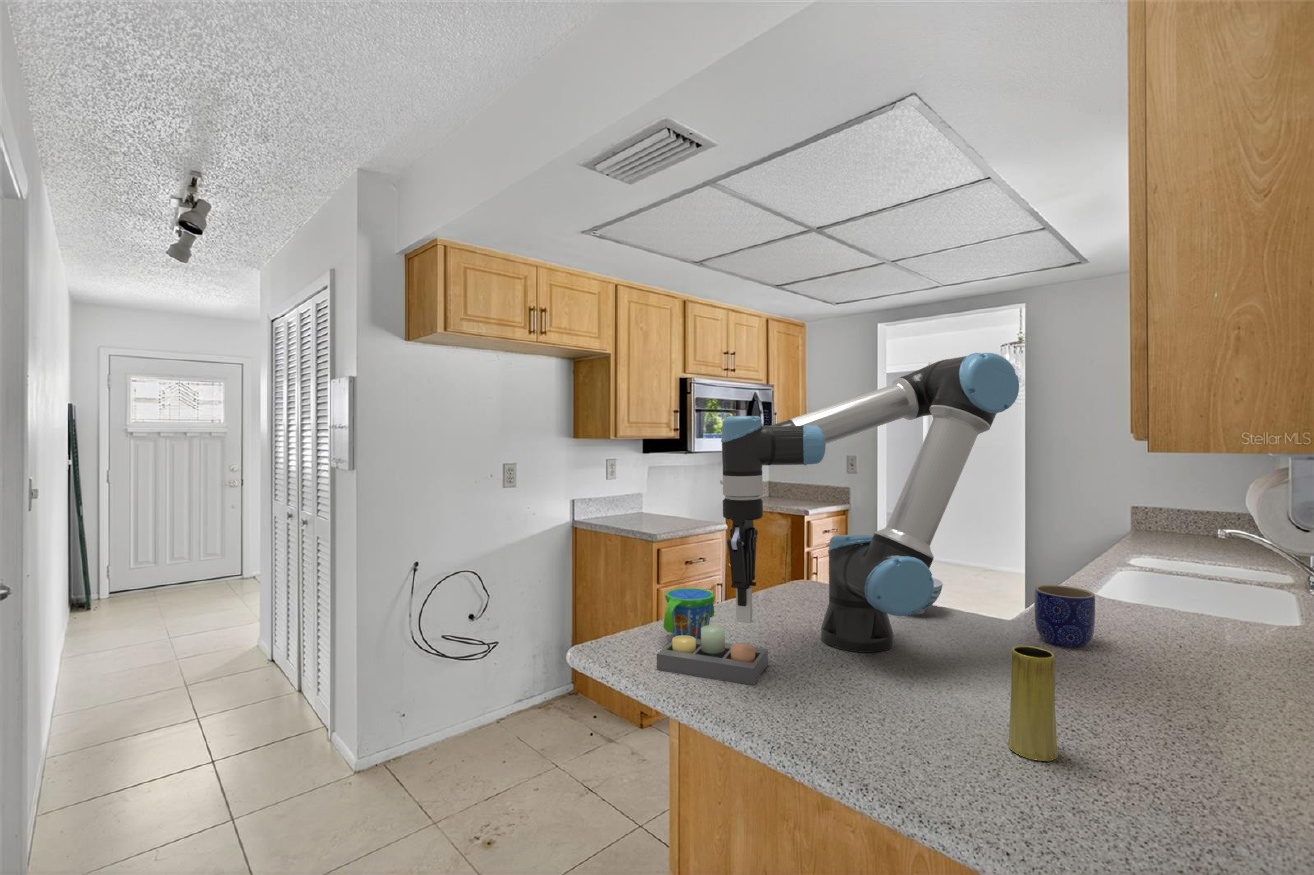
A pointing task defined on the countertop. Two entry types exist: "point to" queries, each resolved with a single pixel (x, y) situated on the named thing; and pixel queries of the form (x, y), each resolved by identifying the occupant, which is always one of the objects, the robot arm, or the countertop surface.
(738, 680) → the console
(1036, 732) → the vase
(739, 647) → the button terracotta
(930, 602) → the chinaware
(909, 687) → the countertop surface
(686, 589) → the snack cup
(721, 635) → the button sage
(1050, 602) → the planter
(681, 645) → the button mustard
